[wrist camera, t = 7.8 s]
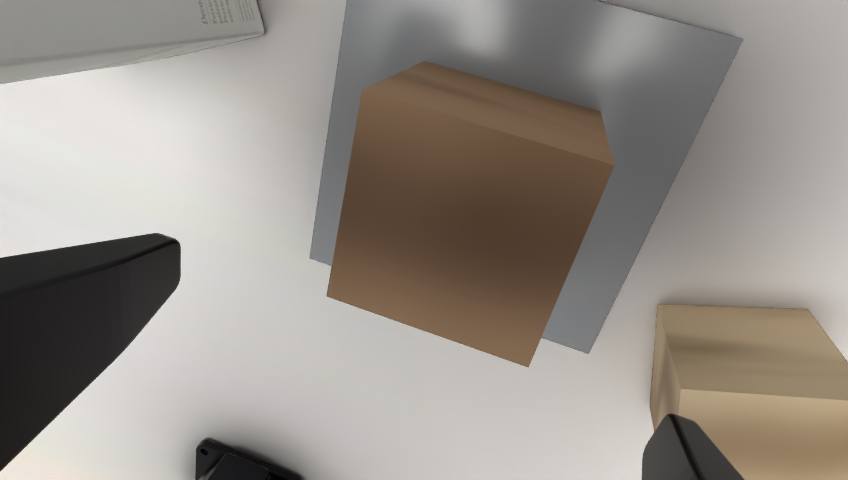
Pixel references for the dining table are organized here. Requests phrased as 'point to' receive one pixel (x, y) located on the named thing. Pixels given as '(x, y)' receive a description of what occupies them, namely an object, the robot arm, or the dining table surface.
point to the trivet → (558, 78)
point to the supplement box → (114, 32)
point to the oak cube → (755, 387)
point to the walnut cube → (466, 206)
